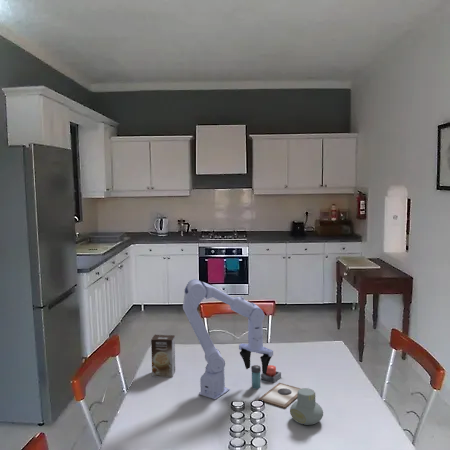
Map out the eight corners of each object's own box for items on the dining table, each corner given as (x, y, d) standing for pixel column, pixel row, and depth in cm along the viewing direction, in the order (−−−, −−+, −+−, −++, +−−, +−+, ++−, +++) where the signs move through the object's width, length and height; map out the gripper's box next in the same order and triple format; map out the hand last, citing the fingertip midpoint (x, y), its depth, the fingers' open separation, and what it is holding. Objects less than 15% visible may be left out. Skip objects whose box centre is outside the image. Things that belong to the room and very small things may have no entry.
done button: (272, 377, 177) (272, 370, 177) (264, 375, 179) (264, 367, 179) (277, 374, 180) (277, 366, 180) (269, 371, 183) (269, 364, 182)
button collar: (273, 382, 176) (273, 377, 176) (261, 379, 179) (260, 374, 179) (281, 377, 181) (281, 372, 180) (268, 373, 184) (268, 369, 184)
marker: (257, 389, 170) (257, 369, 169) (249, 387, 172) (249, 367, 171) (262, 386, 173) (262, 366, 172) (254, 383, 175) (254, 364, 174)
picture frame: (285, 408, 155) (285, 406, 155) (258, 400, 161) (258, 398, 161) (304, 391, 168) (304, 389, 168) (279, 384, 174) (279, 382, 174)
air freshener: (286, 417, 149) (285, 389, 148) (302, 410, 154) (302, 382, 153) (310, 431, 140) (310, 401, 139) (327, 423, 145) (327, 393, 144)
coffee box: (151, 377, 183) (150, 339, 182) (155, 370, 190) (154, 334, 188) (172, 377, 182) (171, 339, 181) (176, 371, 189) (175, 334, 187)
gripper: (276, 336, 170) (277, 370, 171) (245, 330, 178) (246, 362, 179) (267, 342, 164) (268, 377, 165) (235, 335, 172) (236, 368, 174)
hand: (256, 370), depth 172 cm, fingers open, 7 cm apart
